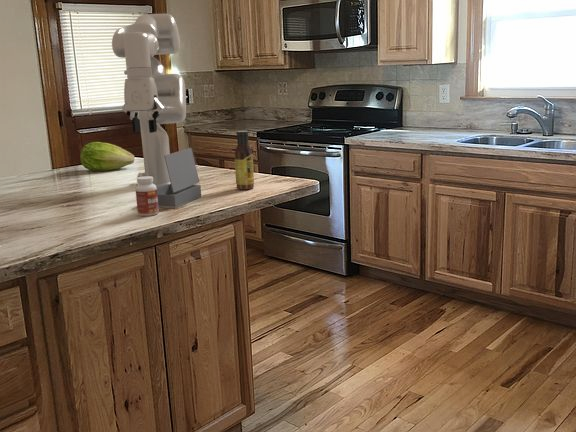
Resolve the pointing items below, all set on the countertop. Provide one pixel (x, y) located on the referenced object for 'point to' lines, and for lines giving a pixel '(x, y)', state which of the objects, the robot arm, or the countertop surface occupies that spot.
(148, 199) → the pill bottle
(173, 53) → the robot arm
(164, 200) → the box
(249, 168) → the sauce bottle
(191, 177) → the lid
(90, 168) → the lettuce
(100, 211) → the countertop surface
